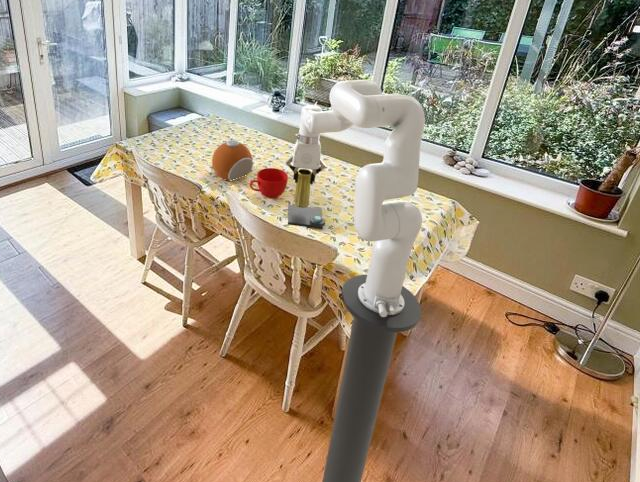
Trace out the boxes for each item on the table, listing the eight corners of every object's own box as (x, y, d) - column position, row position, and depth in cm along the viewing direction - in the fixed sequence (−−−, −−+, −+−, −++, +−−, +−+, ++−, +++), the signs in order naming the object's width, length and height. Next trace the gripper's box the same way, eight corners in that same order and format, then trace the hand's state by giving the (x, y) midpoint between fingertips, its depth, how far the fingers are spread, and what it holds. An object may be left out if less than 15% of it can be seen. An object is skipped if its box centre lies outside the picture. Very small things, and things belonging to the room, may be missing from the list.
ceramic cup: (243, 192, 180) (243, 172, 176) (277, 185, 186) (278, 166, 182) (255, 207, 169) (257, 185, 165) (291, 199, 175) (293, 179, 171)
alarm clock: (236, 163, 207) (237, 131, 200) (259, 177, 194) (260, 143, 187) (204, 173, 196) (204, 140, 190) (226, 188, 183) (227, 153, 177)
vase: (310, 208, 160) (314, 175, 154) (294, 207, 160) (298, 175, 154) (307, 199, 165) (311, 168, 160) (291, 199, 165) (295, 168, 160)
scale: (324, 230, 154) (325, 224, 153) (287, 225, 156) (288, 220, 155) (322, 210, 167) (323, 205, 166) (288, 206, 170) (289, 201, 169)
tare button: (321, 223, 155) (321, 219, 154) (314, 222, 155) (314, 219, 154) (320, 219, 157) (321, 216, 156) (314, 218, 157) (314, 215, 157)
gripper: (285, 139, 151) (280, 183, 157) (333, 144, 148) (326, 189, 154) (285, 133, 158) (281, 175, 164) (331, 137, 155) (325, 180, 161)
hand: (303, 181), depth 159 cm, fingers closed on vase, 5 cm apart
